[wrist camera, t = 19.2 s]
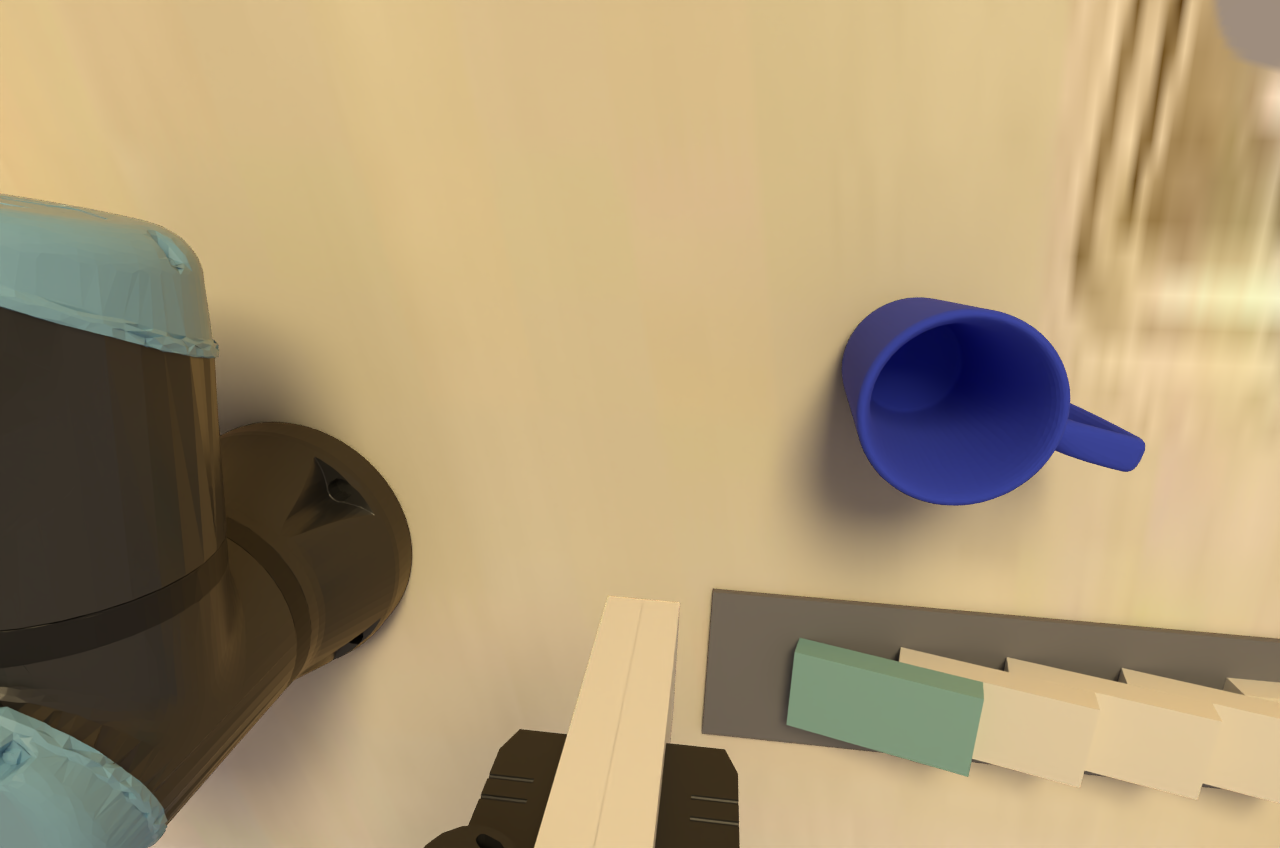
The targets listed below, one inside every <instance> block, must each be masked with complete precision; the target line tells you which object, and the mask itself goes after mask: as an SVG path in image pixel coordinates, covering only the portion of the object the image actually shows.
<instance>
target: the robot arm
mask: <svg viewBox="0 0 1280 848" xmlns="http://www.w3.org/2000/svg"><path fill="white" fill-rule="evenodd" d="M218 355H219V349H218V343H216V342H215V341H214V340H213V338H212V331H211V324H210V318H209V311H208V304H207V297H206V290H205V283H204V275H203V270H202V267H201V264H200V262H199V259H198V257H197V256H196V254H195V253H194V251H193V250H192V248H191V247H190V246H189V245H188V244H187V243H186V242H185V241H184V240H183V239H182V238H180V237H179V236H178V235H176V234H175V233H173V232H172V231H170V230H168V229H166V228H164V227H162V226H159V225H156V224H154V223H151V222H147V221H144V220H140V219H136V218H131V217H127V216H122V215H117V214H112V213H108V212H103V211H98V210H93V209H87V208H82V207H76V206H71V205H66V204H60V203H54V202H49V201H43V200H37V199H31V198H25V197H19V196H13V195H7V194H1V193H0V848H148V847H150V846H152V845H154V844H155V843H156V842H157V841H158V840H159V839H160V838H161V837H162V835H163V834H164V832H165V831H166V830H165V829H166V828H167V824H168V823H169V822H170V821H171V820H172V819H173V818H174V816H175V815H176V814H177V813H178V812H179V811H180V809H181V808H182V807H183V806H184V805H185V804H186V803H187V801H188V800H189V799H190V798H191V797H192V796H193V794H194V793H195V792H196V791H197V790H198V789H199V788H200V786H201V785H202V784H203V783H204V782H205V781H206V780H207V778H208V777H209V776H210V775H211V774H212V773H213V771H214V770H215V769H216V768H217V767H218V766H219V765H220V763H221V762H222V761H223V760H224V759H225V758H226V757H227V755H228V754H229V753H230V752H231V751H232V750H233V748H234V747H235V746H236V745H237V744H238V743H239V742H240V741H241V739H242V738H243V737H244V736H245V735H246V734H247V733H248V731H249V730H250V729H251V728H252V727H253V726H254V725H255V724H256V722H257V721H258V720H259V719H260V718H261V717H262V716H263V715H264V713H265V712H266V711H267V710H268V709H269V708H270V707H271V705H272V704H273V703H274V702H275V701H276V700H277V699H278V698H279V696H280V695H281V694H282V693H283V692H284V690H285V689H286V688H287V687H288V686H289V685H290V684H291V683H292V682H293V681H294V680H295V679H297V678H299V677H301V676H303V675H305V674H307V673H309V672H311V671H313V670H315V669H317V668H319V667H321V666H323V665H325V664H327V663H329V662H330V661H332V660H334V659H336V658H339V657H341V656H343V655H345V654H347V653H349V652H350V651H352V650H354V649H355V648H357V647H359V646H360V645H361V644H363V643H364V642H365V641H366V640H367V639H369V638H370V637H371V636H372V635H373V634H374V633H375V632H376V631H377V630H378V629H379V627H380V626H381V625H382V624H383V623H384V621H385V620H386V619H387V618H388V616H389V615H390V614H391V613H392V611H393V610H394V609H395V607H396V606H397V604H398V603H399V601H400V599H401V598H402V596H403V593H404V591H405V589H406V586H407V583H408V580H409V575H410V570H411V560H412V549H411V539H410V533H409V529H408V525H407V522H406V519H405V516H404V513H403V511H402V508H401V506H400V504H399V502H398V500H397V498H396V496H395V495H394V493H393V491H392V490H391V488H390V487H389V485H388V484H387V482H386V481H385V480H384V478H383V477H382V476H381V475H380V474H379V472H378V471H377V470H376V469H375V468H374V467H373V466H372V465H371V464H370V463H369V462H368V461H367V460H366V459H365V458H364V457H362V456H361V455H360V454H359V453H357V452H356V451H355V450H353V449H352V448H351V447H349V446H348V445H346V444H345V443H343V442H341V441H339V440H338V439H336V438H334V437H332V436H330V435H328V434H326V433H323V432H321V431H318V430H315V429H312V428H309V427H305V426H302V425H297V424H291V423H283V422H263V423H255V424H250V425H246V426H242V427H239V428H236V429H234V430H231V431H229V432H227V433H225V434H223V435H220V434H219V421H218V409H217V391H216V373H215V358H216V357H219V356H218ZM679 610H680V602H670V601H659V600H648V599H637V598H626V597H615V596H608V597H607V601H606V604H605V608H604V611H603V614H602V618H601V621H600V625H599V628H598V632H597V635H596V638H595V642H594V645H593V649H592V652H591V655H590V659H589V662H588V666H587V669H586V673H585V676H584V679H583V683H582V686H581V690H580V693H579V696H578V700H577V703H576V707H575V710H574V713H573V717H572V720H571V724H570V727H569V731H568V734H558V733H549V732H540V731H531V730H522V729H520V730H519V731H518V732H517V733H516V734H515V735H514V736H512V737H511V738H510V739H509V740H508V741H507V742H506V743H505V744H504V745H503V746H502V747H501V748H500V749H499V752H498V754H497V757H496V759H495V761H494V764H493V766H492V769H491V771H490V775H489V778H488V779H487V781H486V783H485V786H484V788H483V791H482V793H481V799H479V801H478V803H477V806H476V808H475V810H474V813H473V815H472V818H471V820H470V823H469V825H468V826H461V827H459V828H456V829H453V830H450V831H447V832H444V833H442V834H441V835H439V836H438V837H437V838H435V839H434V840H432V841H431V842H430V843H428V844H427V845H426V846H425V847H424V848H739V805H738V773H737V771H736V769H735V767H734V766H733V764H732V762H731V760H730V758H729V756H728V754H727V753H726V751H725V749H716V748H706V747H697V746H688V745H679V744H670V739H671V729H672V719H673V707H674V691H675V674H676V658H677V642H678V626H679Z"/></svg>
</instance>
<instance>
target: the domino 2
mask: <svg viewBox="0 0 1280 848" xmlns="http://www.w3.org/2000/svg"><path fill="white" fill-rule="evenodd" d="M1004 671H1005V672H1010V673H1014V674H1018V675H1022V676H1027V677H1031V678H1035V679H1039V680H1044V681H1048V682H1052V683H1056V684H1061V685H1065V686H1069V687H1074V688H1078V689H1082V690H1086V691H1091V692H1095V695H1096V698H1097V701H1098V705H1099V708H1100V713H1099V717H1098V721H1097V725H1096V728H1095V732H1094V736H1093V740H1092V744H1091V748H1090V751H1089V755H1088V759H1087V763H1086V767H1085V771H1088V772H1092V773H1096V774H1100V775H1104V776H1107V777H1111V778H1115V779H1119V780H1123V781H1126V782H1130V783H1134V784H1138V785H1142V786H1145V787H1149V788H1153V789H1157V790H1161V791H1164V792H1168V793H1172V794H1176V795H1180V796H1183V797H1187V798H1191V799H1195V800H1197V799H1198V796H1199V793H1200V790H1201V787H1202V784H1203V781H1204V777H1205V774H1206V771H1207V768H1208V765H1209V762H1210V759H1211V756H1212V752H1213V749H1214V746H1215V743H1216V740H1217V737H1218V734H1219V731H1220V727H1221V724H1222V720H1221V718H1220V716H1219V715H1218V713H1217V711H1216V709H1215V707H1214V705H1213V704H1212V703H1209V702H1205V701H1200V700H1196V699H1191V698H1187V697H1183V696H1178V695H1174V694H1169V693H1165V692H1160V691H1156V690H1151V689H1147V688H1143V687H1138V686H1134V685H1129V684H1125V683H1120V682H1116V681H1111V680H1107V679H1102V678H1098V677H1094V676H1089V675H1085V674H1080V673H1076V672H1071V671H1067V670H1062V669H1058V668H1054V667H1049V666H1045V665H1040V664H1036V663H1031V662H1027V661H1022V660H1018V659H1014V658H1009V657H1007V658H1006V663H1005V668H1004Z"/></svg>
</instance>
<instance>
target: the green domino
mask: <svg viewBox="0 0 1280 848" xmlns="http://www.w3.org/2000/svg"><path fill="white" fill-rule="evenodd" d="M983 702H984V690H983V682H980V681H976V680H972V679H968V678H964V677H960V676H955V675H951V674H947V673H943V672H939V671H935V670H931V669H927V668H923V667H918V666H914V665H910V664H906V663H902V662H898V661H894V660H890V659H886V658H882V657H877V656H873V655H869V654H865V653H861V652H857V651H853V650H849V649H845V648H840V647H836V646H832V645H828V644H824V643H820V642H816V641H812V640H808V639H803V638H800V639H799V641H798V644H797V647H796V650H795V653H794V662H793V671H792V680H791V689H790V698H789V706H788V715H787V724H786V725H789V726H792V727H796V728H799V729H803V730H806V731H810V732H813V733H817V734H820V735H824V736H827V737H831V738H834V739H838V740H841V741H845V742H848V743H852V744H855V745H859V746H862V747H866V748H869V749H873V750H876V751H880V752H883V753H887V754H890V755H894V756H897V757H901V758H904V759H908V760H911V761H915V762H918V763H922V764H925V765H929V766H932V767H936V768H939V769H943V770H946V771H950V772H953V773H957V774H960V775H964V776H967V777H968V776H969V771H970V766H971V761H972V756H973V751H974V746H975V741H976V736H977V731H978V727H979V722H980V717H981V712H982V707H983Z"/></svg>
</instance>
